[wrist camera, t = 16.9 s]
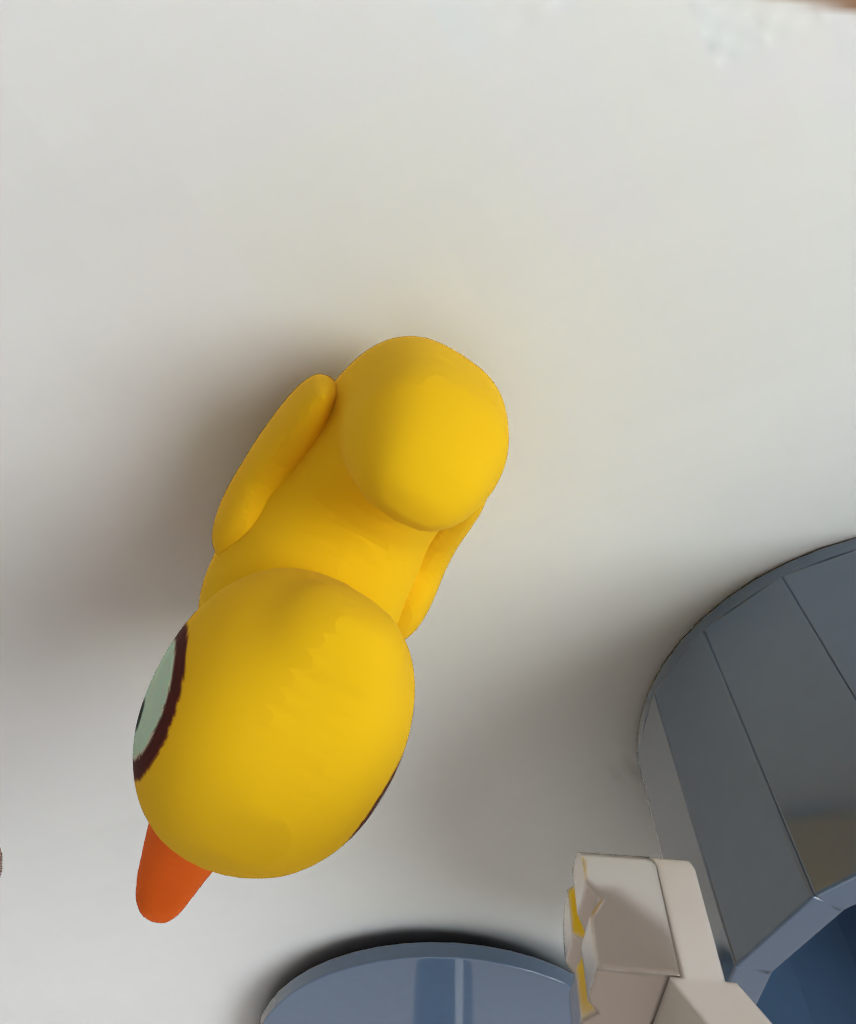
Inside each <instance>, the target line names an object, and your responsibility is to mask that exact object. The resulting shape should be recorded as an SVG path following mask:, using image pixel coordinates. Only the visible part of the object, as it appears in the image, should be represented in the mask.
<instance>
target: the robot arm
mask: <svg viewBox="0 0 856 1024" xmlns="http://www.w3.org/2000/svg"><path fill="white" fill-rule="evenodd" d="M1 873H2V852H1V849H0V876H1ZM573 878H574V886H573V887H571V888H570V889H568V891H567V896H566V902H565V908H564V923H563V933H564V951H565V963H566V964H567V966H568V967H569V968H570V970H571V971H572V972H573V974H574V978H573V982H572V986H571V990H570V994H569V1004H570V1013H571V1023H572V1024H772V1023H771V1022H770V1021H769V1019H768V1018H767V1017H766V1016H765V1015H764V1014H763V1013H762V1011H761V1010H760V1009H759V1008H758V1007H757V1006H756V1005H755V1003H754V1002H753V1001H752V1000H751V999H750V998H749V997H748V995H747V994H746V993H745V992H744V991H743V990H742V989H741V987H740V986H739V985H738V984H737V983H732V982H725V979H724V975H723V972H722V968H721V964H720V961H719V957H718V953H717V949H716V946H715V942H714V938H713V935H712V931H711V927H710V924H709V920H708V916H707V912H706V909H705V905H704V901H703V898H702V894H701V890H700V887H699V883H698V879H697V875H696V872H695V869H694V867H693V866H692V864H691V863H690V862H689V861H684V860H669V859H655V858H650V857H643V856H628V855H613V854H598V853H583V852H579V853H578V854H577V855H576V857H575V861H574V865H573Z"/></svg>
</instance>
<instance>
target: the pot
mask: <svg viewBox="0 0 856 1024" xmlns="http://www.w3.org/2000/svg"><path fill="white" fill-rule="evenodd" d="M637 754H638V761H639V766H640V770H641V774H642V779H643V783H644V787H645V791H646V796H647V800H648V804H649V809H650V813H651V817H652V821H653V825H654V829H655V833H656V837H657V841H658V845H659V849H660V853H661V857H662V859H669V860H684V861H689V862H690V863H691V864H692V866H693V867H694V869H695V872H696V875H697V879H698V883H699V887H700V890H701V894H702V898H703V901H704V905H705V909H706V912H707V916H708V920H709V924H710V927H711V931H712V935H713V938H714V942H715V946H716V949H717V953H718V957H719V961H720V964H721V968H722V972H723V975H724V979H725V982H732V983H737V984H738V985H739V986H740V987H741V989H742V990H743V991H744V992H745V993H746V994H747V995H748V997H749V998H750V999H751V1000H752V1001H753V1002H754V1003H755V1005H756V1006H757V1007H758V1008H759V1009H760V1010H761V1011H762V1013H763V1014H764V1015H765V1016H766V1017H767V1018H768V1019H769V1021H770V1022H771V1023H772V1024H856V538H855V539H852V540H848V541H845V542H842V543H838V544H835V545H832V546H828V547H825V548H822V549H819V550H817V551H814V552H812V553H810V554H807V555H805V556H802V557H800V558H797V559H795V560H792V561H790V562H788V563H786V564H784V565H782V566H780V567H778V568H776V569H774V570H772V571H770V572H769V573H767V574H765V575H763V576H761V577H759V578H757V579H755V580H754V581H752V582H751V583H749V584H748V585H746V586H745V587H743V588H742V589H740V590H739V591H737V592H736V593H734V594H733V595H731V596H730V597H728V598H727V599H725V600H724V601H723V602H722V603H721V604H719V605H718V606H717V607H716V608H715V609H713V610H712V611H711V612H710V613H709V614H707V615H706V616H705V617H704V618H703V619H701V620H700V621H699V623H698V624H697V625H696V626H695V627H694V628H693V629H692V630H691V631H690V632H689V633H688V634H687V635H686V636H685V637H684V638H683V639H682V640H681V641H680V643H679V644H678V645H677V647H676V648H675V649H674V651H673V652H672V653H671V655H670V656H669V658H668V659H667V660H666V662H665V663H664V664H663V666H662V668H661V670H660V671H659V673H658V675H657V677H656V679H655V681H654V682H653V684H652V686H651V688H650V691H649V694H648V696H647V699H646V702H645V705H644V708H643V710H642V714H641V720H640V726H639V731H638V752H637Z"/></svg>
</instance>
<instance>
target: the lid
mask: <svg viewBox="0 0 856 1024" xmlns="http://www.w3.org/2000/svg"><path fill="white" fill-rule="evenodd" d="M573 978H574V974H572V973H570V972H568V971H566V970H564V969H562V968H560V967H558V966H556V965H553V964H551V963H548V962H546V961H543V960H540V959H538V958H535V957H532V956H528V955H524V954H521V953H517V952H513V951H510V950H505V949H499V948H494V947H488V946H483V945H473V944H464V943H447V942H420V943H402V944H394V945H387V946H380V947H374V948H369V949H365V950H360V951H356V952H352V953H349V954H346V955H343V956H339V957H336V958H333V959H330V960H328V961H326V962H324V963H321V964H319V965H317V966H315V967H312V968H310V969H309V970H307V971H305V972H304V973H302V974H300V975H299V976H297V977H295V978H294V979H292V980H291V981H290V982H289V983H288V984H286V985H285V986H284V987H283V988H282V989H280V990H279V992H278V993H277V994H276V995H275V996H274V997H273V999H272V1000H271V1001H270V1002H269V1004H268V1006H267V1007H266V1009H265V1011H264V1013H263V1015H262V1018H261V1021H260V1024H572V1023H571V1013H570V1004H569V994H570V990H571V986H572V982H573Z"/></svg>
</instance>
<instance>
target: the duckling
mask: <svg viewBox="0 0 856 1024" xmlns="http://www.w3.org/2000/svg"><path fill="white" fill-rule="evenodd" d="M508 444H509V433H508V420H507V414H506V410H505V405H504V402H503V399H502V396H501V394H500V392H499V390H498V388H497V387H496V385H495V384H494V382H493V381H492V380H491V379H490V377H489V376H488V375H487V374H486V373H485V372H484V371H483V370H482V369H481V368H479V367H478V366H477V365H475V364H474V363H473V362H471V361H470V360H468V359H467V358H465V357H464V356H463V355H461V354H460V353H458V352H456V351H454V350H453V349H451V348H449V347H447V346H445V345H443V344H441V343H439V342H436V341H433V340H431V339H428V338H423V337H416V336H404V337H397V338H392V339H389V340H386V341H383V342H381V343H379V344H377V345H375V346H373V347H372V348H370V349H368V350H367V351H366V352H364V353H363V354H362V355H360V356H359V357H358V358H357V359H356V360H354V361H353V362H352V363H351V364H350V365H349V366H348V367H347V368H346V369H345V370H344V371H343V372H342V374H341V375H340V376H339V377H338V378H337V379H336V381H334V380H333V379H332V378H331V377H329V376H327V375H323V374H316V375H313V376H311V377H309V378H307V379H306V380H305V381H303V382H302V383H301V384H300V385H299V386H298V387H297V388H296V389H295V390H294V391H293V392H292V393H291V394H290V395H289V396H288V397H287V399H286V400H285V401H284V402H283V403H282V405H281V406H280V407H279V409H278V410H277V411H276V413H275V414H274V415H273V417H272V418H271V420H270V421H269V422H268V424H267V425H266V426H265V428H264V429H263V431H262V432H261V433H260V435H259V436H258V438H257V439H256V441H255V443H254V444H253V446H252V447H251V449H250V451H249V452H248V454H247V456H246V457H245V459H244V460H243V462H242V463H241V465H240V467H239V468H238V470H237V472H236V473H235V475H234V477H233V479H232V480H231V482H230V484H229V486H228V488H227V490H226V492H225V494H224V496H223V498H222V500H221V503H220V505H219V508H218V511H217V514H216V517H215V521H214V525H213V531H212V542H213V547H214V550H215V553H214V556H213V558H212V560H211V563H210V565H209V567H208V570H207V573H206V575H205V578H204V581H203V585H202V589H201V593H200V599H199V607H198V610H197V611H196V612H195V613H194V614H193V615H192V616H191V618H190V619H189V620H188V621H187V622H186V624H185V625H184V626H183V627H182V629H181V630H180V632H179V633H178V634H177V636H176V637H175V639H174V640H173V642H172V643H171V645H170V647H169V648H168V650H167V652H166V653H165V655H164V657H163V659H162V661H161V662H160V664H159V666H158V668H157V670H156V672H155V674H154V676H153V678H152V680H151V683H150V685H149V687H148V690H147V692H146V695H145V698H144V700H143V703H142V706H141V709H140V713H139V716H138V720H137V725H136V730H135V736H134V745H133V772H134V781H135V787H136V792H137V796H138V799H139V803H140V805H141V808H142V810H143V813H144V815H145V817H146V818H147V820H148V822H149V825H148V829H147V833H146V837H145V841H144V846H143V850H142V856H141V860H140V865H139V869H138V874H137V886H136V902H137V905H138V909H139V911H140V913H141V914H142V915H143V916H144V917H145V918H146V919H148V920H150V921H152V922H156V923H166V922H168V921H170V920H172V919H173V918H175V917H176V916H177V915H178V914H179V913H180V912H181V911H182V910H183V909H184V907H185V906H186V905H187V904H188V902H189V901H190V900H191V898H192V897H193V896H194V895H195V893H196V892H197V890H198V889H199V888H200V887H201V885H202V884H203V883H204V881H205V880H206V879H207V878H208V877H209V875H210V874H211V873H212V872H216V873H219V874H222V875H227V876H233V877H239V878H274V877H281V876H285V875H289V874H293V873H296V872H299V871H301V870H304V869H306V868H308V867H311V866H313V865H315V864H316V863H318V862H320V861H322V860H323V859H325V858H327V857H328V856H330V855H331V854H333V853H334V852H335V851H337V850H338V849H339V848H340V847H342V846H343V845H344V844H345V843H346V842H347V841H348V840H349V839H351V838H352V837H353V836H354V834H355V833H356V832H357V831H358V830H359V829H360V828H361V827H362V826H363V824H364V823H365V822H366V821H367V819H368V818H369V817H370V815H371V814H372V813H373V811H374V810H375V808H376V807H377V805H378V804H379V802H380V800H381V799H382V797H383V795H384V794H385V792H386V790H387V788H388V786H389V784H390V783H391V781H392V779H393V776H394V774H395V772H396V770H397V768H398V765H399V763H400V760H401V758H402V755H403V752H404V749H405V746H406V743H407V739H408V736H409V732H410V727H411V722H412V716H413V708H414V697H415V681H414V670H413V664H412V659H411V656H410V652H409V649H408V646H407V644H406V642H405V639H406V638H407V637H409V636H410V635H411V634H412V633H413V632H414V631H415V630H416V629H417V628H418V626H419V625H420V624H421V622H422V621H423V619H424V617H425V616H426V614H427V612H428V610H429V608H430V606H431V604H432V601H433V599H434V597H435V595H436V592H437V590H438V587H439V585H440V582H441V580H442V577H443V575H444V572H445V570H446V568H447V566H448V564H449V562H450V560H451V558H452V556H453V554H454V553H455V551H456V549H457V547H458V546H459V544H460V543H461V541H462V540H463V539H464V537H465V536H466V534H467V533H468V531H469V530H470V529H471V527H472V525H473V524H474V522H475V521H476V520H477V518H478V516H479V515H480V513H481V511H482V509H483V507H484V505H485V502H486V499H487V498H488V497H489V495H490V494H491V493H492V491H493V490H494V488H495V486H496V485H497V483H498V481H499V479H500V477H501V474H502V472H503V469H504V466H505V463H506V459H507V454H508Z"/></svg>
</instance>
